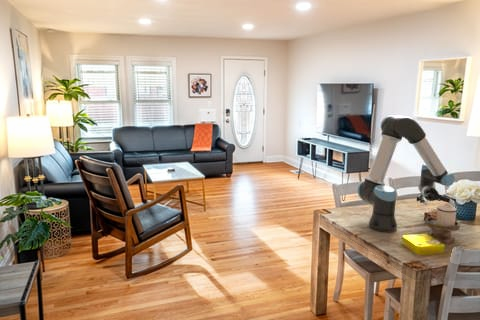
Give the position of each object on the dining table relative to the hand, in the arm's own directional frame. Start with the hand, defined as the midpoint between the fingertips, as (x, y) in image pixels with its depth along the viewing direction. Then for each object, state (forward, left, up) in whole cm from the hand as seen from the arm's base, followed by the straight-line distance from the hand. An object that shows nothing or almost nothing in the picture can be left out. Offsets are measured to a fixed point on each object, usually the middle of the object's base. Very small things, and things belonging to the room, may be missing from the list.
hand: (440, 204), depth 203 cm
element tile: (-14, -21, -17) cm, 31 cm away
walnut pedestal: (-1, -7, -16) cm, 18 cm away
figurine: (+20, +37, -17) cm, 45 cm away
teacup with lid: (-1, -7, -9) cm, 12 cm away
